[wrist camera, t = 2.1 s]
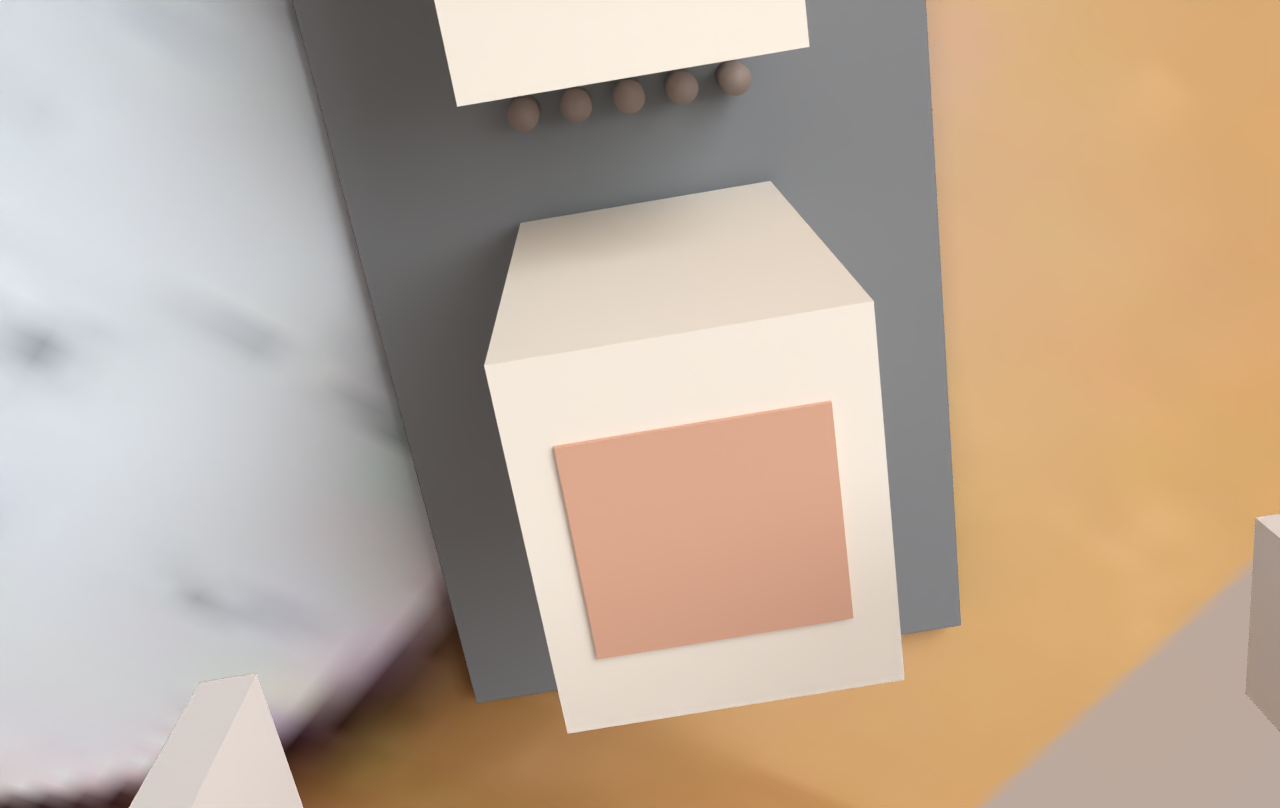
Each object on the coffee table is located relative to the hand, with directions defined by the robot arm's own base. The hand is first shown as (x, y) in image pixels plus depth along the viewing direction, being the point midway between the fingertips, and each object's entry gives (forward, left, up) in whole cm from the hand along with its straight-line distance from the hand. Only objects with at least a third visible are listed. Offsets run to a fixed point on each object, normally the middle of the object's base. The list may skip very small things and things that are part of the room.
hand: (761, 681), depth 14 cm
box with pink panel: (0, 0, -14) cm, 14 cm away
